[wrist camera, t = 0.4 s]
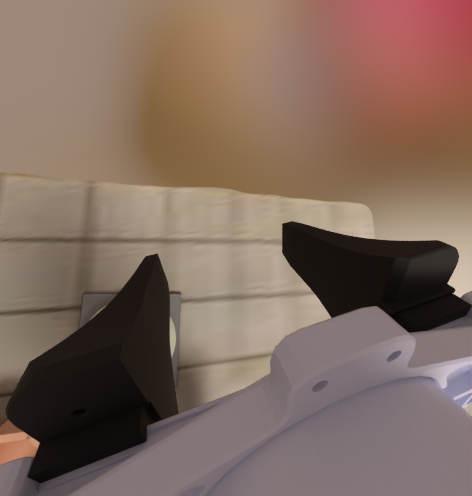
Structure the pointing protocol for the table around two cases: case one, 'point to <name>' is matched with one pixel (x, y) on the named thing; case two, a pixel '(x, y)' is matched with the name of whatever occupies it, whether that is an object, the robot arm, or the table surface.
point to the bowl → (15, 443)
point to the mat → (98, 301)
